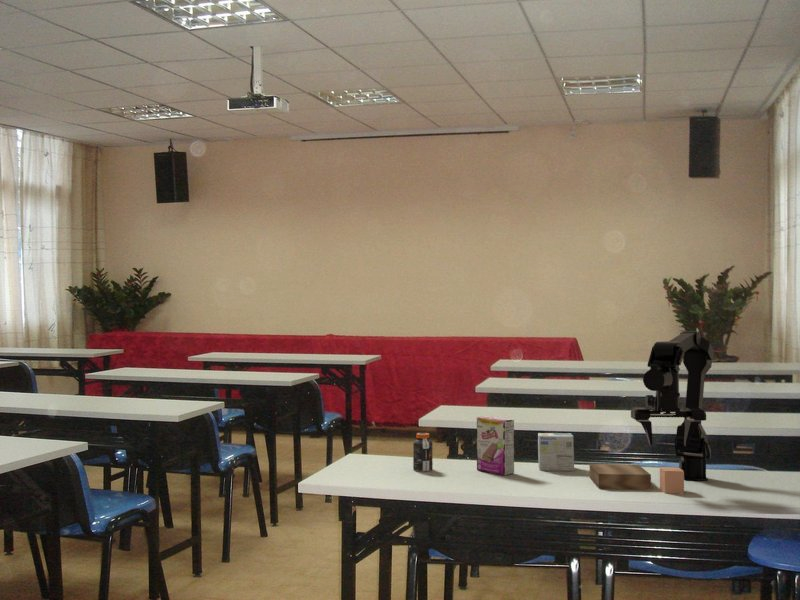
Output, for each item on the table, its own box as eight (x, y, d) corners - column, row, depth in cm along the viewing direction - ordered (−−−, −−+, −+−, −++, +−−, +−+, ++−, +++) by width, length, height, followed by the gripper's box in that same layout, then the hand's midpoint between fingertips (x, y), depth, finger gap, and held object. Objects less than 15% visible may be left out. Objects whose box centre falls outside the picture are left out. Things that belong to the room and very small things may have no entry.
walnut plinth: (638, 478, 225) (638, 464, 225) (651, 489, 211) (650, 474, 211) (589, 477, 226) (589, 464, 226) (599, 488, 212) (598, 474, 212)
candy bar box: (475, 470, 237) (475, 417, 237) (486, 468, 241) (486, 415, 241) (504, 476, 229) (504, 420, 229) (515, 473, 232) (514, 419, 233)
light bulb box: (572, 467, 242) (571, 432, 243) (574, 471, 236) (574, 436, 236) (537, 466, 243) (537, 432, 244) (539, 470, 237) (539, 435, 237)
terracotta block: (678, 489, 211) (678, 467, 211) (684, 493, 206) (683, 471, 206) (659, 489, 212) (659, 467, 212) (664, 493, 207) (664, 470, 207)
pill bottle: (433, 472, 235) (433, 434, 235) (413, 472, 235) (413, 434, 235) (432, 468, 241) (431, 431, 241) (412, 468, 241) (412, 431, 241)
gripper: (693, 385, 217) (694, 441, 217) (626, 385, 219) (626, 440, 219) (706, 389, 206) (707, 448, 206) (635, 389, 208) (635, 447, 207)
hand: (668, 445), depth 210 cm, fingers open, 9 cm apart
